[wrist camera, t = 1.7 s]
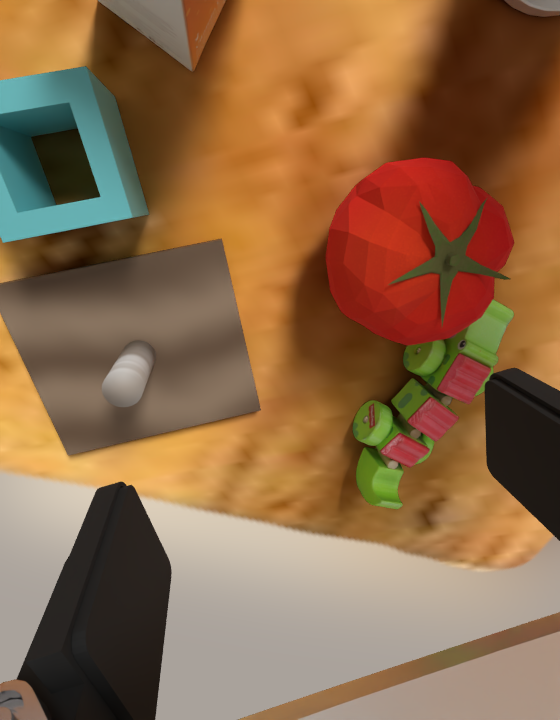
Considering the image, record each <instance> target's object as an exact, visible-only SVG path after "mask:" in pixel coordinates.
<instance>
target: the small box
mask: <svg viewBox="0 0 560 720" xmlns="http://www.w3.org/2000/svg"><path fill="white" fill-rule="evenodd" d="M98 1H99V2H100V3H101V4H103V5H104V6H106V7H107V8H108V9H110V10H111V11H112V12H114V13H115V14H116V15H118V16H119V17H120V18H122V19H123V20H124V21H125V22H127V23H128V24H130V25H131V26H132V27H134V28H135V29H136V30H138V31H139V32H140V33H142V34H143V35H144V36H146V37H147V38H148V39H150V40H151V41H152V42H154V43H155V44H156V45H158V46H159V47H160V48H162V49H163V50H164V51H165V52H167V53H168V54H169V55H171V56H172V57H173V58H175V59H176V60H177V61H179V62H180V63H181V64H183V65H184V66H185V67H186V68H188V69H189V70H190V71H194V70H195V68H196V65H197V63H198V61H199V58H200V56H201V53H202V51H203V49H204V47H205V44H206V42H207V40H208V38H209V36H210V33H211V31H212V29H213V27H214V25H215V23H216V21H217V19H218V17H219V14H220V12H221V10H222V8H223V6H224V4H225V2H226V0H98Z"/></svg>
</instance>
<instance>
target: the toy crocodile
mask: <svg viewBox="0 0 560 720" xmlns="http://www.w3.org/2000/svg"><path fill="white" fill-rule="evenodd" d="M513 316H514V313H513V311H512V310H511V309H509V308H507V307H506V306H504V305H502V304H500V303H499V302H497V301H495V300H492V302H491V303H490V305H489V306H488V308H487V309H486V311H485V313H484V314H483V316H482V317H481V318H479V319H478V320H477V321H475V322H474V323H472V324H471V325H469V326H468V327H466V328H465V329H464V330H462V331H461V332H459V333H457V334H455V335H453V336H452V337H450V338H447V339H442V340H437V341H432V342H426V343H421V344H416V345H408V346H407V347H406V349H405V352H404V356H403V363H404V366H405V368H406V369H407V370H408V371H410V372H413V373H414V374H417V375H419V376H421V378H423V380H424V381H425V382H427V383H426V385H425V386H423V385H422V384H420V383H419V382H418V381H417V380H415V379H414V378H412V379H411V380H410V381H409V382H408V383H407V384H406V385H405V386H404V387H403V388H402V390H401V391H400V392H399V393H398V394H397V395H396V396H395V397H394V398H393V399H392V400H391V402H392V404H393V405H394V406H395V408H396V409H397V410H398V411H399V412H400V414H399V415H398V417H397V418H396V417H394V416H392V411H391V409H390V408H389V407H388V406H386V405H384V404H382V403H380V402H378V401H375V400H371V401H368V402H366V403H365V404H364V405H363V406H362V407H361V408H360V409H359V411H358V412H357V414H356V416H355V419H354V422H353V434H354V437H355V438H356V439H357V440H358V441H360V442H363V443H365V444H367V445H371V446H376V448H375V449H373V448H368V447H364V449H363V451H362V453H361V456H360V459H359V461H358V465H357V470H356V482H357V486H358V488H359V490H360V492H361V494H362V496H363V497H364V499H365V500H366V501H367V502H368V503H369V504H371V505H375V506H381V507H386V508H392V509H399V508H401V507H402V505H403V504H402V502H401V501H400V499H399V496H398V485H399V481H400V479H401V477H402V475H403V473H404V471H403V469H402V466H401V464H403V465H405V466H407V467H409V468H410V467H412V466H413V465H414V464H419V463H421V462H423V461H425V460H426V459H427V458H428V457H429V455H430V454H431V452H432V449H433V446H434V441H438V440H439V439H440V438H441V437H442V436H443V435H444V434H445V432H446V431H447V430H448V429H449V428H451V427H452V426H453V425H454V424H455V423H456V421H457V420H458V419H459V417H458V416H457V415H456V414H455V413H454V412H453V411H452V410H451V409H450V408H449V407H448V406H447V405H449V404H450V403H451V401H452V398H454V399H457V400H459V401H461V402H463V403H466V404H470V403H471V402H472V400H473V398H474V397H475V396H477V395H479V394H481V393H482V392H483V391H485V383H486V382H487V381H489V378H490V376H491V375H492V374H493V366H494V365H496V364H497V363H498V357H497V355H496V352H497V349H498V347H499V344H500V342H501V339H502V336H503V334H504V332H505V329H506V327H507V325H508V324H509V322H510V321H511V320H512V318H513ZM400 463H401V464H400Z"/></svg>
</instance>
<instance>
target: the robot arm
mask: <svg viewBox="0 0 560 720" xmlns="http://www.w3.org/2000/svg"><path fill="white" fill-rule="evenodd" d="M504 1H505V2H507V3H508V4H509V5H510V6H511V7H513V8H515V9H517V10H519V11H521V12H523V13H526V14H528V15H534V16H541V17H548V16H557V15H560V0H504ZM485 420H486V455H487V466H488V469H489V471H490V473H491V474H492V476H493V477H494V478H495V479H496V480H497V481H498V482H499V483H500V484H501V485H502V486H503V487H504V488H505V489H507V490H508V491H509V492H510V493H511V494H512V495H513V496H514V497H515V498H516V499H517V500H518V501H519V502H520V503H521V504H522V505H523V506H524V507H525V508H526V509H527V510H528V511H529V512H530V513H531V514H532V515H533V516H534V517H536V518H537V519H538V520H539V521H540V522H541V523H542V524H543V525H544V526H545V527H546V528H547V529H548V530H549V531H550V532H551V533H552V534H553V535H554V536H555V537H556V538H557V539H558V540H559V541H560V391H559V390H557V389H555V388H553V387H551V386H549V385H547V384H546V383H544V382H542V381H540V380H538V379H536V378H534V377H532V376H531V375H529V374H527V373H525V372H523V371H521V370H519V369H517V368H511V369H507V370H504V371H500V372H497V373H493V374H492V375H491V376H490V378H489V381H487V382H486V383H485ZM170 583H171V565H170V561H169V559H168V557H167V554H166V553H165V551H164V548H163V546H162V544H161V542H160V540H159V538H158V536H157V534H156V532H155V530H154V527H153V525H152V523H151V521H150V519H149V517H148V515H147V513H146V511H145V509H144V507H143V505H142V502H141V500H140V498H139V496H138V494H137V492H136V490H135V488H134V487H133V486H132V485H129V486H126V484H125V483H124V482H118V483H115V484H111V485H108V486H104V487H101V488H99V489H97V491H96V492H95V495H94V497H93V500H92V502H91V505H90V507H89V510H88V512H87V514H86V517H85V519H84V522H83V524H82V527H81V529H80V531H79V534H78V536H77V539H76V541H75V544H74V546H73V549H72V551H71V553H70V556H69V557H68V559H67V560H66V562H65V564H64V567H63V569H62V572H61V574H60V576H59V579H58V581H57V583H56V586H55V588H54V591H53V593H52V596H51V598H50V600H49V603H48V605H47V608H46V610H45V612H44V615H43V617H42V620H41V622H40V624H39V627H38V629H37V632H36V634H35V636H34V639H33V641H32V644H31V646H30V648H29V651H28V653H27V656H26V658H25V661H24V663H23V665H22V668H21V670H20V673H19V675H18V677H17V680H11V681H7V682H3V683H1V684H0V720H155V716H156V707H157V698H158V690H159V681H160V672H161V663H162V654H163V644H164V636H165V628H166V618H167V610H168V609H167V608H168V601H169V592H170ZM238 720H560V612H559V613H556V614H553V615H550V616H547V617H544V618H541V619H537V620H534V621H531V622H528V623H525V624H522V625H519V626H516V627H513V628H510V629H507V630H504V631H501V632H498V633H495V634H492V635H489V636H486V637H482V638H480V639H477V640H473V641H471V642H467V643H464V644H462V645H458V646H455V647H452V648H449V649H447V650H443V651H440V652H437V653H434V654H431V655H428V656H425V657H422V658H419V659H416V660H413V661H410V662H407V663H404V664H401V665H398V666H395V667H392V668H389V669H386V670H383V671H380V672H377V673H374V674H371V675H368V676H365V677H362V678H359V679H356V680H353V681H350V682H347V683H344V684H341V685H339V686H336V687H332V688H329V689H326V690H324V691H321V692H318V693H315V694H312V695H309V696H306V697H303V698H300V699H297V700H294V701H291V702H288V703H285V704H282V705H279V706H276V707H273V708H270V709H267V710H264V711H262V712H259V713H256V714H253V715H250V716H247V717H244V718H241V719H238Z"/></svg>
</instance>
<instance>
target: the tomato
mask: <svg viewBox="0 0 560 720" xmlns="http://www.w3.org/2000/svg"><path fill="white" fill-rule="evenodd" d="M513 245H514V240H513V236H512V233H511V230H510V226H509V223H508V220H507V217H506V214H505V211H504V208H503V206H502V205H501V204H500V203H498V202H497V201H496V200H495V199H494V198H492V197H491V196H490V195H489V194H487V193H486V192H485V191H484V190H483V189H481V188H480V187H476V186H472V184H471V182H470V180H469V178H468V176H467V175H466V174H465V173H464V172H463V171H461V170H460V169H459V168H458V167H457V166H456V165H455V164H454V163H453V162H452V161H448V160H440V159H432V158H417V159H410V160H403V161H396V162H388V163H385V164H384V165H382V166H381V167H379V168H378V169H377V170H375V171H374V172H372V173H371V174H370V175H368V176H367V177H365V178H364V179H363V180H361V181H360V182H359V183H358V184H356V185H355V187H354V188H353V189H352V190H351V192H350V193H349V194H348V196H347V197H346V198H345V199H344V201H343V202H342V203H341V205H340V206H339V207H338V209H337V210H336V212H335V215H334V218H333V220H332V223H331V226H330V229H329V236H328V243H327V251H326V264H327V271H328V278H329V285H330V292H331V294H332V296H333V298H334V300H335V301H336V303H337V305H338V307H339V309H340V311H341V312H342V313H343V314H345V315H346V316H347V317H348V318H350V319H352V320H354V321H356V322H358V323H359V324H361V325H363V326H364V327H366V328H367V329H369V330H370V331H371V332H373V333H374V334H377V335H379V336H381V337H384V338H386V339H389V340H391V341H394V342H397V343H401V344H404V345H407V346H408V345H416V344H421V343H426V342H432V341H437V340H442V339H447V338H450V337H452V336H453V335H455V334H457V333H459V332H461V331H462V330H464V329H465V328H466V327H468V326H469V325H471V324H472V323H474V322H475V321H477V320H478V319H479V318H481V317H482V316H483V314H484V313H485V311H486V309H487V308H488V306H489V305H490V303H491V302H492V300H493V299H494V277H495V278H500V279H504V280H505V279H509V278H508V277H506V276H504V275H502V274H500V273H498V271H499V270H500V269H501V268H502V267H503V266H504V265H505V264H506V261H507V259H508V257H509V254H510V252H511V250H512V247H513Z"/></svg>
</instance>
